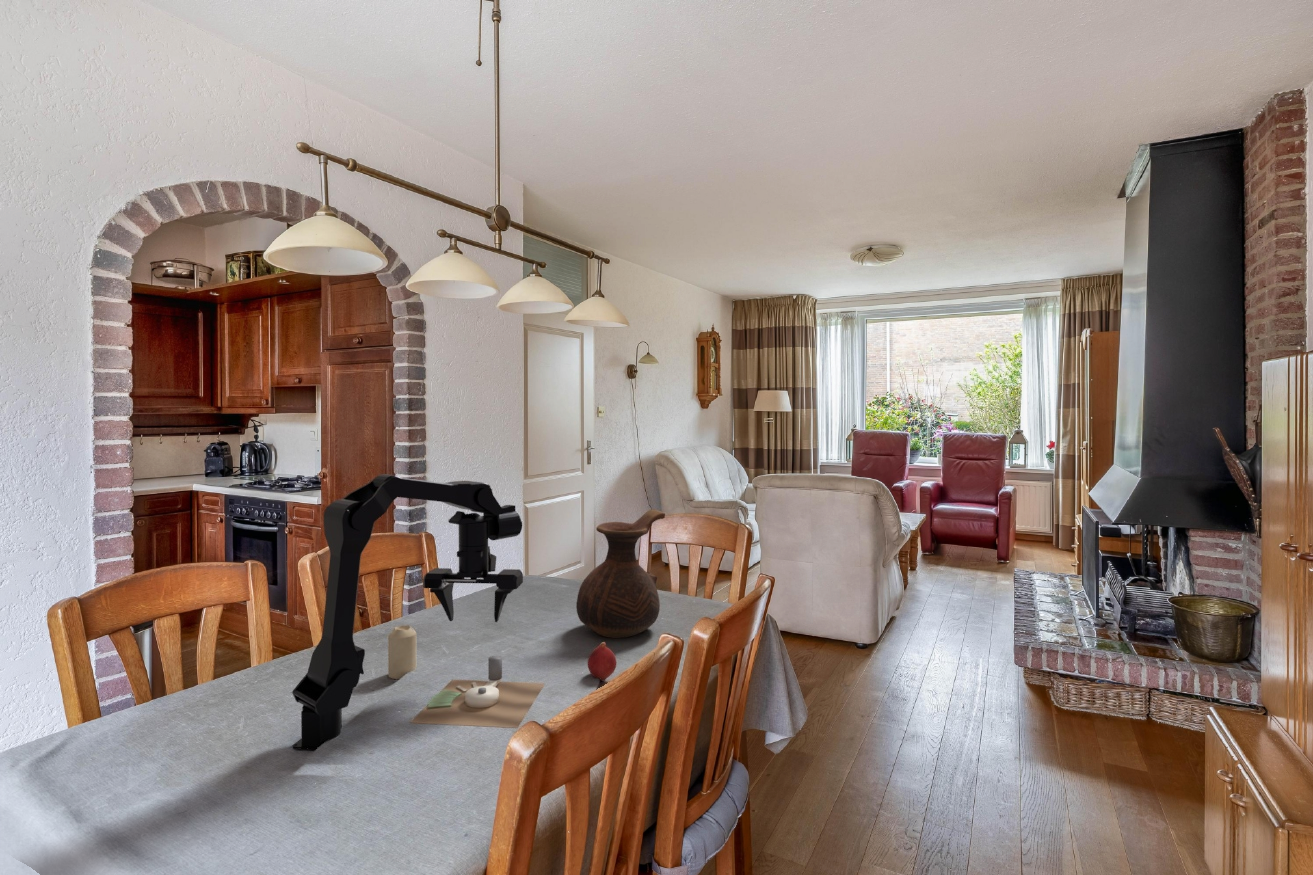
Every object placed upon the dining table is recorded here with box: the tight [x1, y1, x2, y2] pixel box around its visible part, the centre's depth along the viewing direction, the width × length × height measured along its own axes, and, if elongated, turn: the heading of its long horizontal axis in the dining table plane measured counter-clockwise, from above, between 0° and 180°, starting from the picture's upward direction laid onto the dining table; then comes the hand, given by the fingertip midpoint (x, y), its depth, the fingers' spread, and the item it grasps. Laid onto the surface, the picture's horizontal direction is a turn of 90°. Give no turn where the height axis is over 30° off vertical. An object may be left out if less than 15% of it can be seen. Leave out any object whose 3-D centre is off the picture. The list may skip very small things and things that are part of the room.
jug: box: [576, 509, 666, 639], centre depth 169 cm, size 22×22×30 cm
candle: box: [387, 624, 417, 680], centre depth 139 cm, size 6×6×10 cm
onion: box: [587, 641, 617, 682], centre depth 137 cm, size 6×6×8 cm
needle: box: [465, 654, 503, 708], centre depth 126 cm, size 12×6×5 cm, turn 175°
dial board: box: [409, 679, 546, 729], centre depth 124 cm, size 19×19×2 cm
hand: (474, 621), depth 134 cm, fingers open, 9 cm apart
